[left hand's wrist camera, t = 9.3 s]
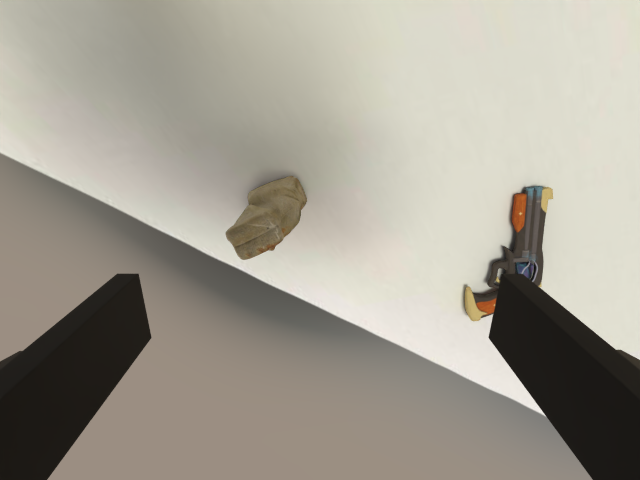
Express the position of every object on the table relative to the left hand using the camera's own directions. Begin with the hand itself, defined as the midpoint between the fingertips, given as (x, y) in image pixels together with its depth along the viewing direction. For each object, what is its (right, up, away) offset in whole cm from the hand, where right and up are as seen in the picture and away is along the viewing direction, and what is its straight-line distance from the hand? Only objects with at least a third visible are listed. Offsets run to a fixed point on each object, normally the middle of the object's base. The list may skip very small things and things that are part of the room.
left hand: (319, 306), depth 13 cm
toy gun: (+25, 0, +36) cm, 44 cm away
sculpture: (-5, +8, +33) cm, 35 cm away
